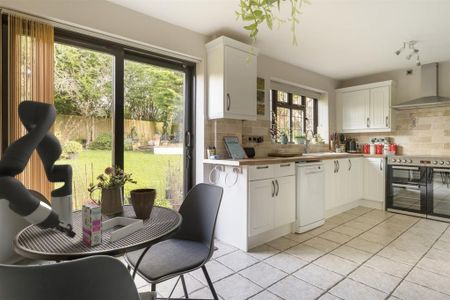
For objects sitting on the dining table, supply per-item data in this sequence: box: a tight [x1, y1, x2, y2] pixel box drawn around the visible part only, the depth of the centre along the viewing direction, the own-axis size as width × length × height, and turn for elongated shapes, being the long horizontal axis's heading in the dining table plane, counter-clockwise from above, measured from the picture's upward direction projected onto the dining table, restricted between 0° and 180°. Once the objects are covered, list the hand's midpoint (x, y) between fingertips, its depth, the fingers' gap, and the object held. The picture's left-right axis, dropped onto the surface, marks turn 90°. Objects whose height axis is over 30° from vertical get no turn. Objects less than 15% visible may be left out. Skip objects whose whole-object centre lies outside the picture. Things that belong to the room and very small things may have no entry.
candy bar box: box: [81, 202, 103, 247], centre depth 108 cm, size 11×5×16 cm, turn 47°
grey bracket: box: [102, 216, 144, 243], centre depth 120 cm, size 17×20×4 cm
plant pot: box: [129, 187, 157, 220], centre depth 145 cm, size 15×15×16 cm
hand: (73, 235), depth 100 cm, fingers closed
